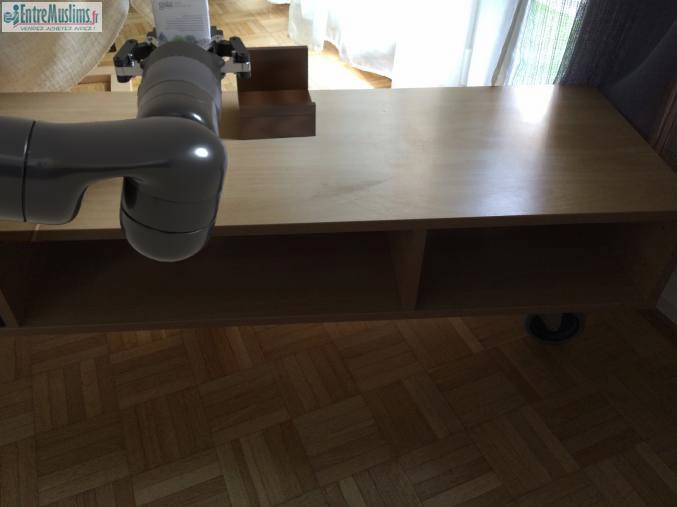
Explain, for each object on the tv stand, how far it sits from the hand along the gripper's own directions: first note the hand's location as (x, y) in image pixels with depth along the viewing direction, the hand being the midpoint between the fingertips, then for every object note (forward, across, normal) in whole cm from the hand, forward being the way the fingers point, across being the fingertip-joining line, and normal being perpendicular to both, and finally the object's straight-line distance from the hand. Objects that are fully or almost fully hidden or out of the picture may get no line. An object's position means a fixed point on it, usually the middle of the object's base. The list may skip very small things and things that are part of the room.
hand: (186, 35), depth 70 cm
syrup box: (-2, 0, -8) cm, 9 cm away
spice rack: (+14, +11, -18) cm, 25 cm away
